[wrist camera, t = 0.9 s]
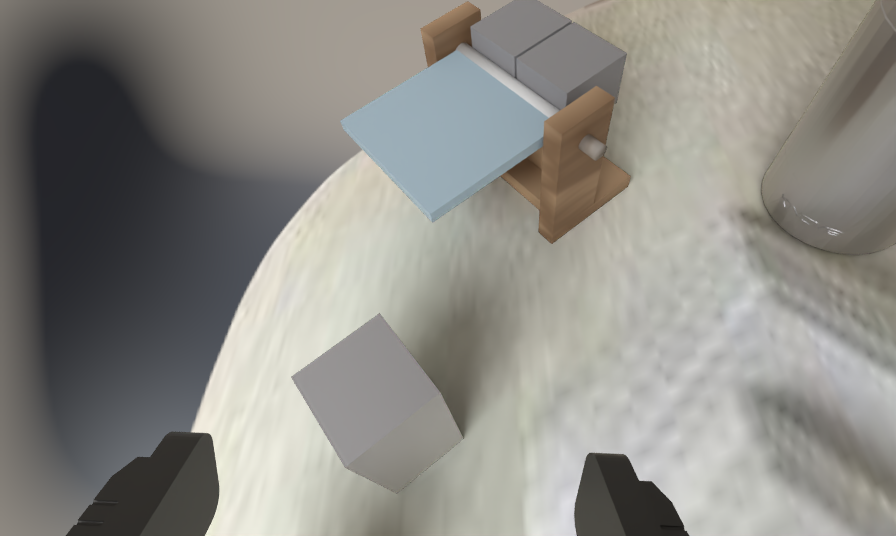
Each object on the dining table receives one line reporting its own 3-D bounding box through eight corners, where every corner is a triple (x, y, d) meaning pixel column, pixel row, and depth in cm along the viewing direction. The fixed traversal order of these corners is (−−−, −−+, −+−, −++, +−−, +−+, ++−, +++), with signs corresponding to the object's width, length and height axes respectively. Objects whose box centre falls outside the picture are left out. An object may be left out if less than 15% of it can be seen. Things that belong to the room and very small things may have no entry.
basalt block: (417, 376, 33) (379, 313, 24) (463, 438, 30) (440, 392, 22) (353, 425, 32) (290, 377, 23) (397, 493, 29) (345, 467, 21)
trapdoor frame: (434, 138, 43) (410, 20, 34) (503, 93, 45) (498, -31, 35) (563, 254, 36) (577, 146, 26) (640, 195, 38) (679, 74, 28)
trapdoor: (350, 145, 34) (331, 101, 31) (519, 39, 37) (519, -10, 34) (437, 238, 29) (427, 198, 26) (623, 107, 33) (634, 57, 29)
